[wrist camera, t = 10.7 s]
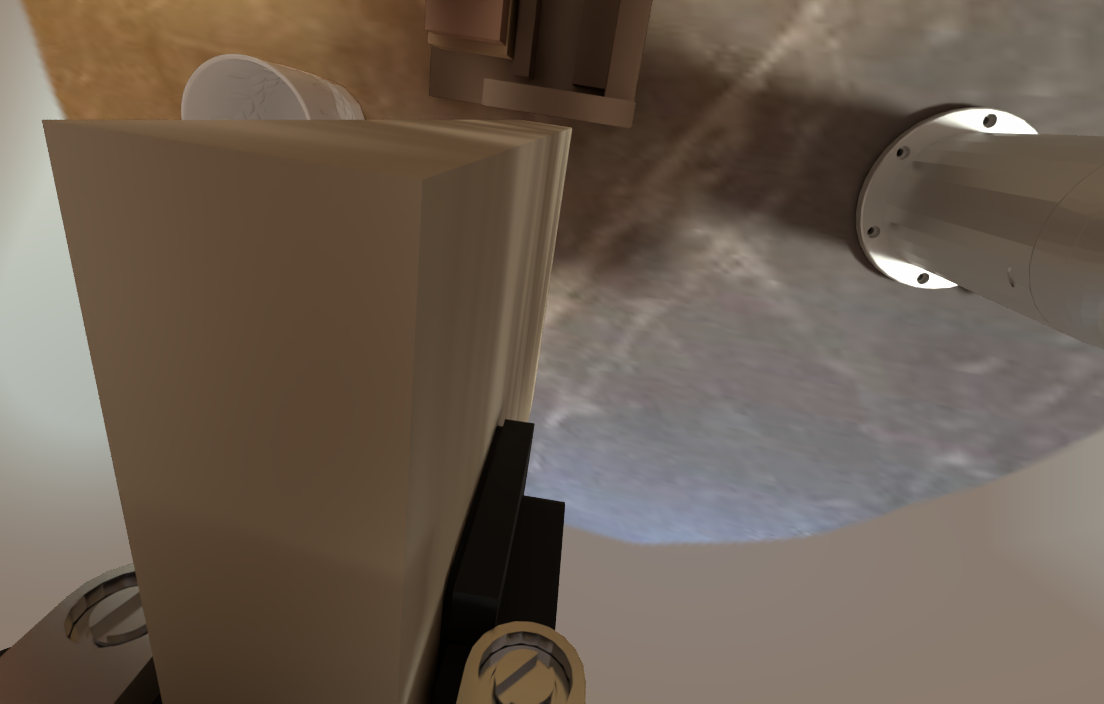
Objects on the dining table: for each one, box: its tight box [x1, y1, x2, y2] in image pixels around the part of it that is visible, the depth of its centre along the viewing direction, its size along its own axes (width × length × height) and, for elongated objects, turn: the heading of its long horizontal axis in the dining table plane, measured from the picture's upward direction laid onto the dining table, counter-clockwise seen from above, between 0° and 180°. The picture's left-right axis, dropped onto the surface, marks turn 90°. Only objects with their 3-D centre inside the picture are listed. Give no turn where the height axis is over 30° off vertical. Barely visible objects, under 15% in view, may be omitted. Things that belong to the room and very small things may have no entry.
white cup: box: [181, 54, 365, 120], centre depth 37 cm, size 8×8×10 cm
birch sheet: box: [42, 120, 572, 704], centre depth 14 cm, size 2×12×20 cm, turn 172°
